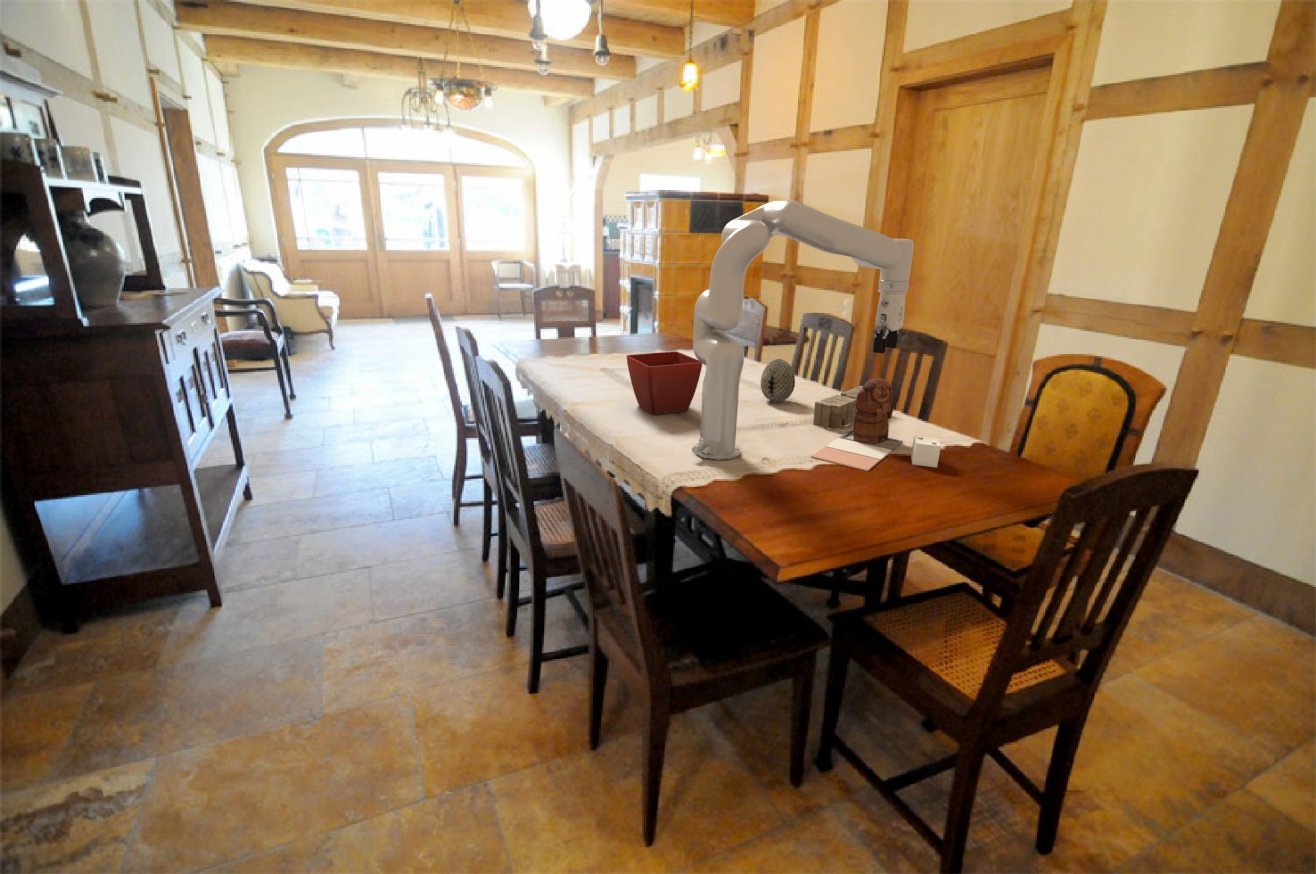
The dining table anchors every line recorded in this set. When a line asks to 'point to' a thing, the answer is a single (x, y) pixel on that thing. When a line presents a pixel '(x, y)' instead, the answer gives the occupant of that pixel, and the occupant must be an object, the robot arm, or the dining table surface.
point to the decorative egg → (777, 380)
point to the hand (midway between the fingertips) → (884, 350)
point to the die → (925, 451)
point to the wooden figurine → (873, 411)
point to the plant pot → (664, 380)
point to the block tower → (836, 409)
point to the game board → (854, 452)
